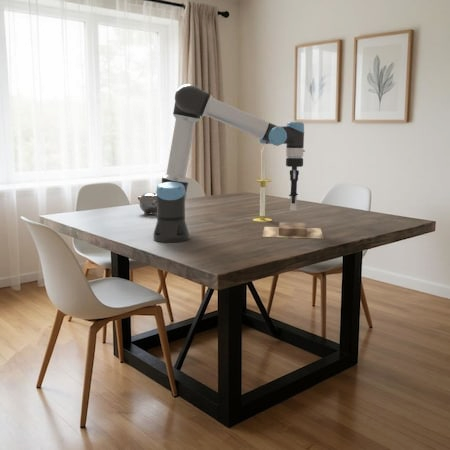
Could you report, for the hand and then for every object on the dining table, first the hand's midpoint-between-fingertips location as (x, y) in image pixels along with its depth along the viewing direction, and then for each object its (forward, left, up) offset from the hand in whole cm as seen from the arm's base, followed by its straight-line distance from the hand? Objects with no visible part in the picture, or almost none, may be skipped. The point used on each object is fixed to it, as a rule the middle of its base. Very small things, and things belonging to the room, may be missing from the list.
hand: (293, 210), depth 243 cm
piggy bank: (-74, +35, -10) cm, 82 cm away
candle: (-15, +26, -10) cm, 32 cm away
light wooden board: (0, -3, -10) cm, 10 cm away
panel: (0, +3, -8) cm, 8 cm away
